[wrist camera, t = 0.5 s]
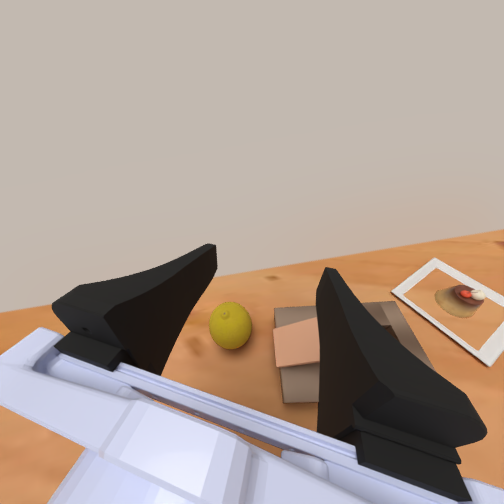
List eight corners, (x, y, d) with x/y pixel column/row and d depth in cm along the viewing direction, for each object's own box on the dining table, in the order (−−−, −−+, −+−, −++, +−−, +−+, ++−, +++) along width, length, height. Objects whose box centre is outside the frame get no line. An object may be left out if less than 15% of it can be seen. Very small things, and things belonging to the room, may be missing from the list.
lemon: (240, 309, 29) (230, 284, 23) (261, 336, 26) (257, 316, 20) (211, 331, 27) (193, 311, 21) (231, 364, 24) (216, 350, 18)
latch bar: (280, 367, 20) (276, 366, 20) (276, 330, 23) (272, 329, 22) (354, 356, 16) (351, 355, 16) (338, 313, 19) (336, 311, 18)
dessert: (387, 294, 29) (403, 278, 25) (430, 261, 32) (449, 242, 29) (482, 368, 22) (523, 361, 18) (524, 316, 25) (566, 301, 21)
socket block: (425, 399, 20) (451, 398, 17) (283, 402, 21) (284, 402, 18) (381, 312, 27) (394, 300, 24) (274, 318, 28) (274, 308, 25)
